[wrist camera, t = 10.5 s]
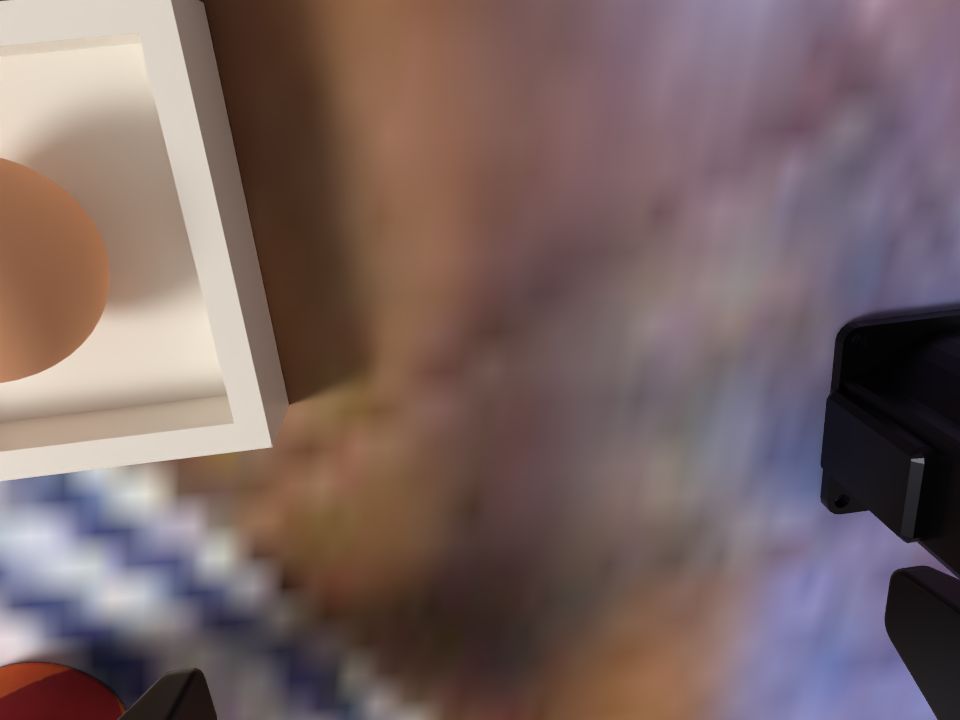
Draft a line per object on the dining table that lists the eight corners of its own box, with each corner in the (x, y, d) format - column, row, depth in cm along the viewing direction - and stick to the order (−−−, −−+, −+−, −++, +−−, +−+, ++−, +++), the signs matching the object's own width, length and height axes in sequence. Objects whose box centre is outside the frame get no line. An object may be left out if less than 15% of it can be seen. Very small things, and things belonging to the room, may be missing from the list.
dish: (203, 2, 17) (167, -14, 14) (289, 405, 20) (272, 447, 18) (-262, 45, 16) (-383, 36, 14) (-85, 451, 20) (-155, 500, 17)
